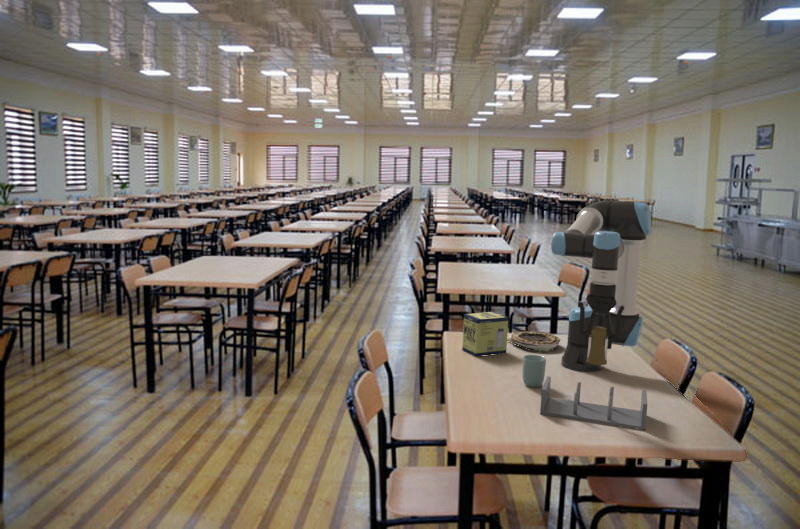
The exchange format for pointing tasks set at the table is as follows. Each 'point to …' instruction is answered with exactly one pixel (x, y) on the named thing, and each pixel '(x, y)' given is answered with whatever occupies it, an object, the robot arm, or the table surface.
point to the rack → (593, 409)
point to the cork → (597, 346)
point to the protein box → (485, 333)
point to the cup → (533, 370)
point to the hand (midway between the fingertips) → (596, 357)
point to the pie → (534, 340)
